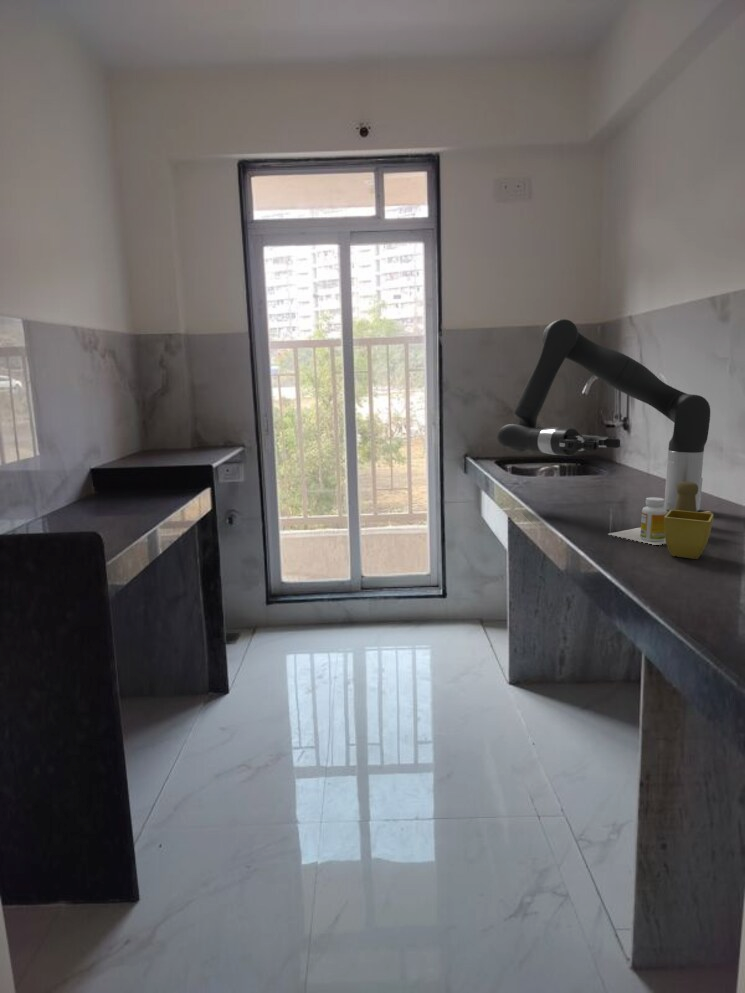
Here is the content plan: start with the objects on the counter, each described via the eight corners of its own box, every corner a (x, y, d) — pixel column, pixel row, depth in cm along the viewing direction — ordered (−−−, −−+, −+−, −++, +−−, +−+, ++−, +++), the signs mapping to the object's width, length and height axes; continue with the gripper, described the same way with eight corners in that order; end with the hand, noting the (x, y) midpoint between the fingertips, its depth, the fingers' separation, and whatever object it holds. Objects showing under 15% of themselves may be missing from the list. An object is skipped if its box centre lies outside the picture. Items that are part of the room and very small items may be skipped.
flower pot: (706, 563, 135) (710, 521, 134) (660, 557, 140) (664, 516, 138) (710, 554, 143) (714, 513, 141) (667, 548, 147) (670, 509, 146)
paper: (652, 526, 170) (652, 524, 170) (700, 535, 159) (700, 534, 159) (608, 534, 160) (608, 533, 160) (655, 546, 149) (656, 544, 149)
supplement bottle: (668, 539, 155) (671, 498, 153) (659, 543, 151) (662, 501, 149) (645, 535, 158) (648, 495, 157) (636, 539, 155) (639, 498, 153)
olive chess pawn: (699, 526, 170) (703, 484, 168) (674, 525, 171) (678, 483, 169) (693, 521, 175) (697, 480, 174) (669, 520, 177) (672, 480, 175)
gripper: (540, 429, 176) (591, 432, 162) (576, 425, 184) (626, 428, 170) (540, 457, 177) (590, 462, 164) (575, 452, 185) (625, 457, 171)
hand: (608, 444), depth 167 cm, fingers open, 8 cm apart
